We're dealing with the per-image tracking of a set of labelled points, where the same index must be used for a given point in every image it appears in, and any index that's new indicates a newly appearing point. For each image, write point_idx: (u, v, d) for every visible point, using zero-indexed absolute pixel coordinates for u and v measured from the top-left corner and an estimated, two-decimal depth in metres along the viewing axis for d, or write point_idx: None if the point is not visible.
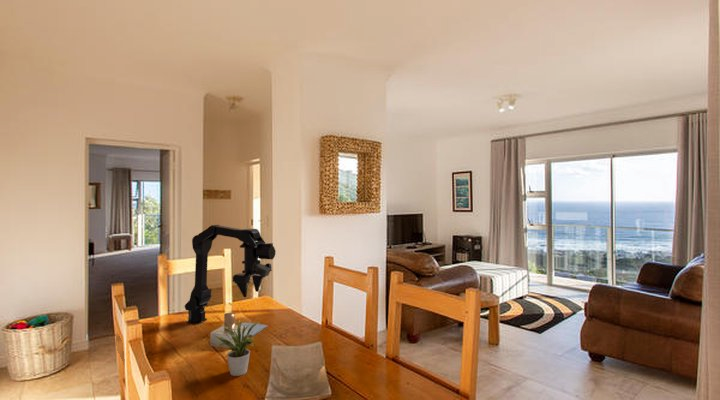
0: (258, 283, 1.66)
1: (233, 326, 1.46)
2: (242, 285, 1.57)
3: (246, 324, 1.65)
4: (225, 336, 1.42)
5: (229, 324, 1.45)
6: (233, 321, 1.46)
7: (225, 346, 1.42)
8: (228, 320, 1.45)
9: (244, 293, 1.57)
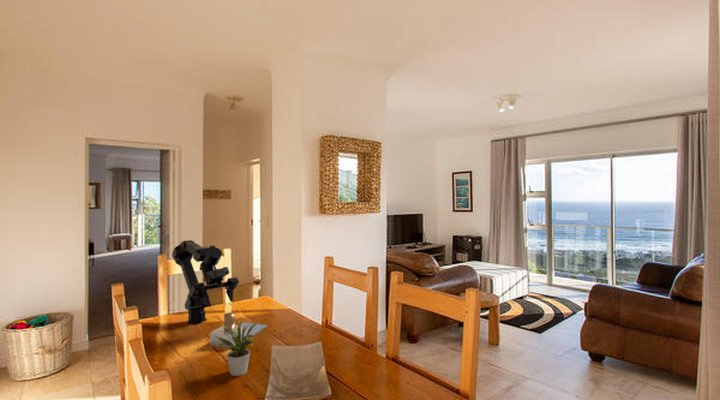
0: (230, 293, 1.57)
1: (233, 326, 1.46)
2: (203, 296, 1.51)
3: (246, 324, 1.65)
4: (225, 336, 1.42)
5: (229, 324, 1.45)
6: (233, 321, 1.46)
7: (225, 346, 1.42)
8: (228, 320, 1.45)
9: (207, 302, 1.49)
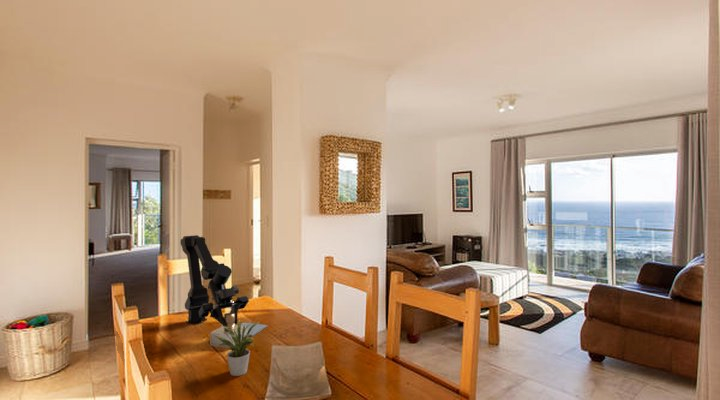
0: None
1: (233, 326, 1.46)
2: (218, 316, 1.46)
3: (246, 324, 1.65)
4: (225, 336, 1.42)
5: (229, 324, 1.45)
6: (233, 321, 1.46)
7: (225, 346, 1.42)
8: (228, 320, 1.45)
9: (222, 322, 1.45)
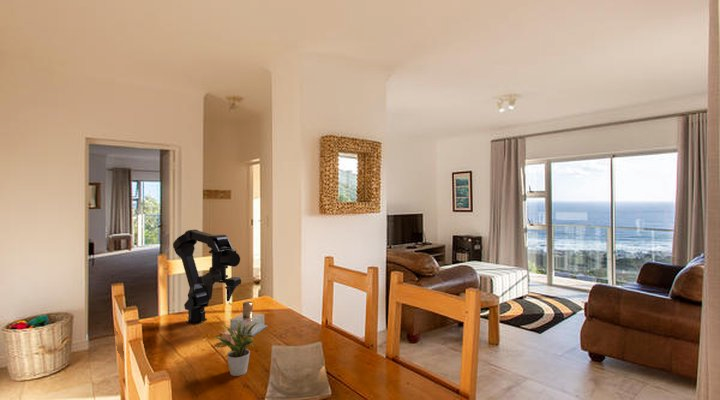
0: None
1: (251, 314, 1.60)
2: None
3: None
4: (244, 322, 1.55)
5: (247, 312, 1.59)
6: (251, 309, 1.60)
7: None
8: (246, 308, 1.59)
9: None
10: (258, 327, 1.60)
